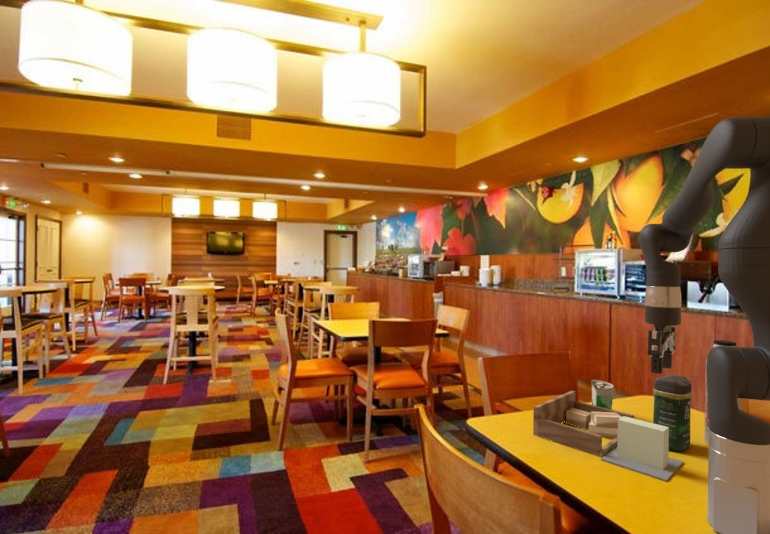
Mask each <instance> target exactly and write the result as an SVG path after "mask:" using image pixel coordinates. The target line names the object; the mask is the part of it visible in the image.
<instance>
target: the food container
mask: <svg viewBox="0 0 770 534" xmlns="http://www.w3.org/2000/svg"><path fill="white" fill-rule="evenodd" d="M614 395H616V389H615V387H614V384H612V383H610V382H607V381H603V380H599V379H598V380H597V379H591V405H595V406H599V407H603V408H607V409H611V410H613V409H612V408H613V399H614Z"/></svg>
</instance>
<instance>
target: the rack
mask: <svg viewBox="0 0 770 534" xmlns="http://www.w3.org/2000/svg"><path fill="white" fill-rule="evenodd" d="M576 395H577V394H576V391H575V390H570V391H567V392H566V393H565V392H564V393H563V394H560V395H558V396H556V397H554V398H551V399H548V400H546V401H544V402H542V403H539V404H537V405H534V406H533V418H532V419H533V420H532V421H533V423H532V424H533V426H532V427H533V429H532V433H533V434H534V435H533V434H532V435H533V436H535V435H537V436H536V437H538V436H539V438H541V437H543V438H542V439H544V438H546V439H545V440H547V439H549V440H548V441H550V440H552V441H551V442H554V441H555V442H554V443H557V442H558V443H557V444H559V445H563V446H566V447H569V448H573V449H576V450H578V451H582V452H585V453H587V454H588V453H589V454H591V455H594V456H598V457H600V458H602V457H604V456H605V455H606V454H608V453H609V452H610V451H612V450H613V449H614V448H616V447H617V440H618V437H616V438H615V439H611V441H609V442H608V443H606V444H605V445H603V443H602V442H603V439H602V438H603V436H602V435H599V434H595V433H592V432H589V430H586V429H582V428H579V427H575V426H572V425H569V424H568V425H567V424H564V423H565V422H564V421H566V410H569V409H571V408H575V409H578V410H582V411H586V412H589V413H591V412H612V413H617V414H619V415H620V416H621V417H623V416H625V417H629V418H634V416H635V415H634V414H631V413H627V412H623V411H618V410H616V409H615V410H614V409H612V410H611V409H607V408H603V407H599V406H595V405H592V404H590V403H586V402H581V401H579V400H578V401H577V400H576ZM634 419H635V418H634ZM562 422H564V423H562ZM561 423H562V424H561Z"/></svg>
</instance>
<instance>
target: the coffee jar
mask: <svg viewBox="0 0 770 534" xmlns="http://www.w3.org/2000/svg"><path fill="white" fill-rule="evenodd" d="M692 385H693V384H692V382H691V380H689V379H688V378H687V377H685V376H682V375H676V374H669V375H665V376H661V377H657V378H655V379H654V382H653V416H652V417H653V419H652V423H654V424H658V425H662V426H666V427H669V444H668V451H670V450H671V451H677V452H682V451H684V450H687V449H689V447H690V445H691V410H692V409H691V406H692V405H691V404H692V394H693V393H692Z"/></svg>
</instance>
